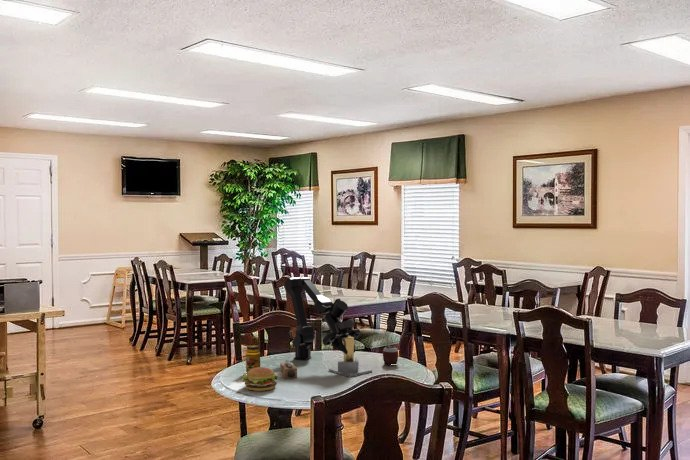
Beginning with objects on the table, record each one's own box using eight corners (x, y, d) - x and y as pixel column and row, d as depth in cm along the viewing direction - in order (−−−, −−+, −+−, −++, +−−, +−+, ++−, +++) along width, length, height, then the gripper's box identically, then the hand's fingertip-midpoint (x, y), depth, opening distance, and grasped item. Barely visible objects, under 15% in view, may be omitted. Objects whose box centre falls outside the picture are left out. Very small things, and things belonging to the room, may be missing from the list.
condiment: (246, 376, 275) (246, 348, 275) (243, 371, 283) (243, 344, 283) (263, 375, 277) (263, 347, 277) (259, 370, 285) (259, 343, 285)
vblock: (328, 371, 284) (328, 359, 284) (350, 366, 293) (350, 355, 293) (350, 377, 274) (350, 365, 274) (372, 372, 282) (372, 360, 282)
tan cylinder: (343, 368, 282) (344, 338, 281) (343, 365, 286) (343, 336, 286) (353, 368, 282) (354, 338, 282) (353, 365, 286) (353, 336, 286)
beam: (280, 372, 282) (280, 362, 282) (291, 371, 283) (291, 362, 283) (285, 379, 270) (285, 369, 270) (297, 378, 272) (297, 368, 272)
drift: (284, 363, 281) (284, 359, 281) (288, 363, 281) (288, 359, 281) (288, 368, 272) (288, 364, 272) (292, 368, 273) (292, 364, 273)
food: (234, 388, 257) (234, 368, 256) (263, 381, 266) (263, 362, 266) (255, 395, 247) (255, 374, 247) (284, 388, 257) (284, 368, 256)
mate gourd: (395, 367, 292) (396, 334, 292) (379, 365, 295) (379, 333, 294) (399, 363, 299) (400, 331, 299) (383, 362, 302) (383, 330, 301)
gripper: (326, 315, 280) (343, 344, 272) (358, 311, 293) (375, 339, 285) (315, 330, 286) (331, 359, 278) (346, 325, 299) (362, 353, 291)
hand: (350, 352), depth 283 cm, fingers closed on tan cylinder, 4 cm apart
